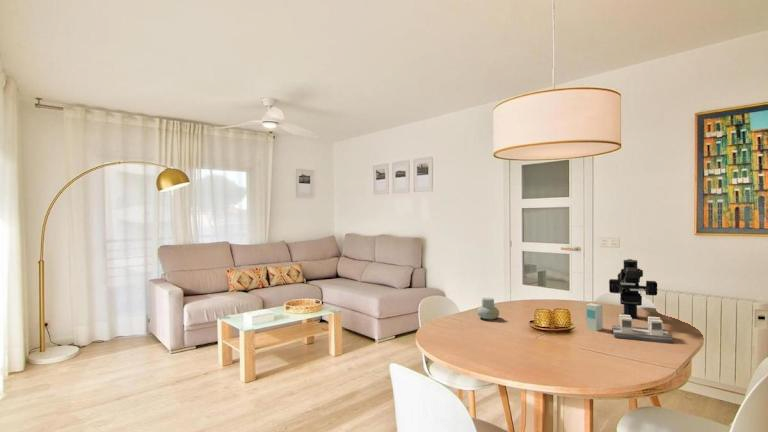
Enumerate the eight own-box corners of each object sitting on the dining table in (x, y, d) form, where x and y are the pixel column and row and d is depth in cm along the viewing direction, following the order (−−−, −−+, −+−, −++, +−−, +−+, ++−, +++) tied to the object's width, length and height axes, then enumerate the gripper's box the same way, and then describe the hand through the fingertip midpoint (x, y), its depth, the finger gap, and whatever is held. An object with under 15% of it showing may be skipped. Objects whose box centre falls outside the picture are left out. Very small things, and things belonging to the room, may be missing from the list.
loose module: (592, 326, 182) (592, 302, 182) (602, 328, 179) (602, 304, 179) (586, 328, 179) (585, 304, 179) (596, 331, 175) (595, 306, 175)
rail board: (611, 328, 178) (611, 312, 178) (665, 333, 169) (665, 315, 169) (614, 337, 165) (614, 319, 165) (673, 343, 157) (672, 324, 157)
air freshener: (493, 315, 207) (493, 296, 207) (502, 319, 199) (501, 299, 199) (474, 317, 204) (474, 297, 204) (482, 321, 196) (482, 301, 196)
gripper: (608, 265, 193) (609, 273, 179) (654, 266, 184) (659, 275, 170) (608, 287, 194) (610, 297, 180) (654, 290, 185) (659, 300, 171)
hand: (634, 292), depth 176 cm, fingers open, 9 cm apart
